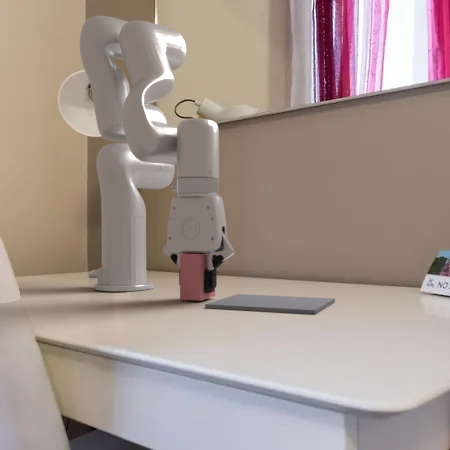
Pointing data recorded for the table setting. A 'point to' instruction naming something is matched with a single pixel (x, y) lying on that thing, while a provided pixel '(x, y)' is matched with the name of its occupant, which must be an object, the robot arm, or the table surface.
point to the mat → (272, 303)
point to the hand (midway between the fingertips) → (197, 290)
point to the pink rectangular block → (193, 277)
